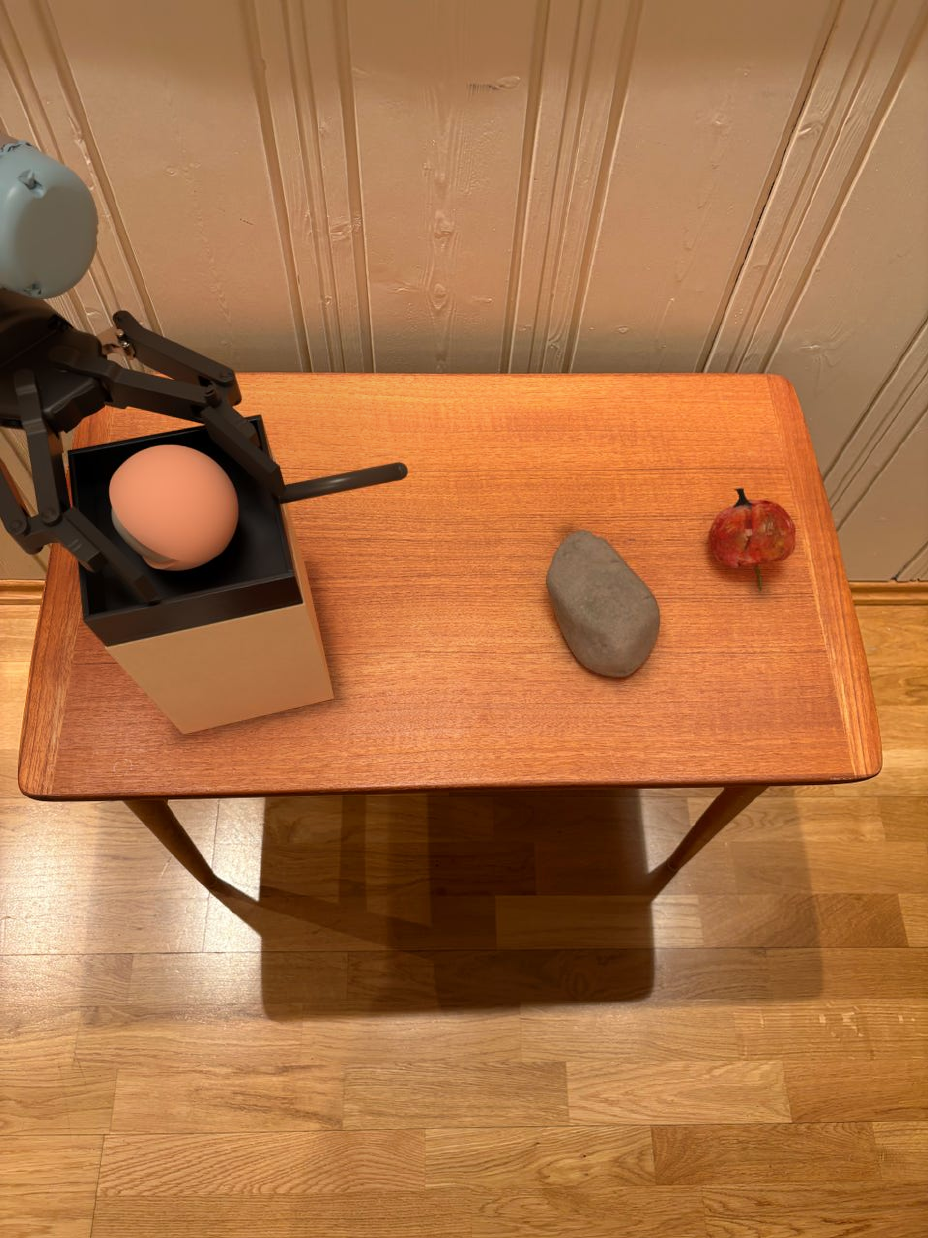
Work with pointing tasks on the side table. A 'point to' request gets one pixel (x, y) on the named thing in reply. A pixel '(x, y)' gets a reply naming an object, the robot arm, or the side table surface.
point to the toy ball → (173, 506)
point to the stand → (234, 663)
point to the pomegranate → (752, 533)
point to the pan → (227, 584)
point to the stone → (602, 605)
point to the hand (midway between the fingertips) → (214, 533)
